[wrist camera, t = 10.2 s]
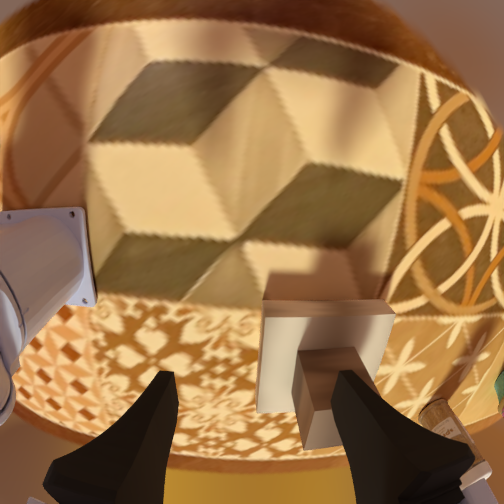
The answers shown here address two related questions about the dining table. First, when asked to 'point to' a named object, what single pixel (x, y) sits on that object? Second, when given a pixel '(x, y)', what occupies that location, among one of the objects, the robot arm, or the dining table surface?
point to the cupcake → (500, 392)
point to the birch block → (315, 340)
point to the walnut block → (322, 392)
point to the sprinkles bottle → (454, 437)
